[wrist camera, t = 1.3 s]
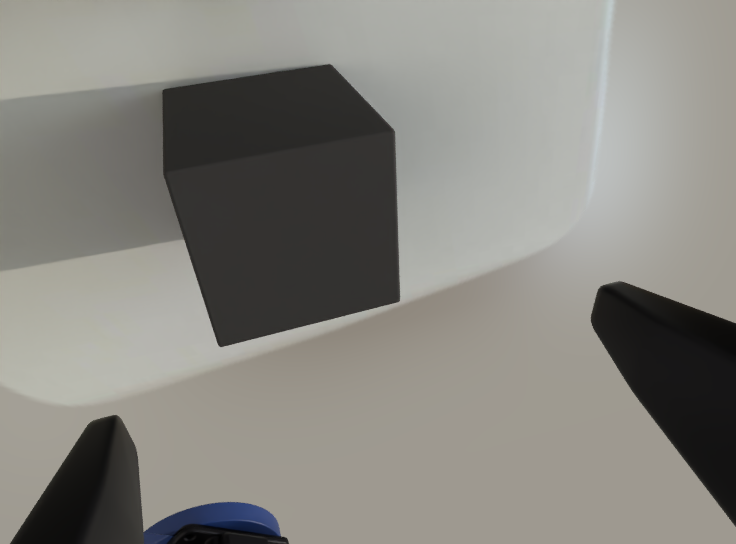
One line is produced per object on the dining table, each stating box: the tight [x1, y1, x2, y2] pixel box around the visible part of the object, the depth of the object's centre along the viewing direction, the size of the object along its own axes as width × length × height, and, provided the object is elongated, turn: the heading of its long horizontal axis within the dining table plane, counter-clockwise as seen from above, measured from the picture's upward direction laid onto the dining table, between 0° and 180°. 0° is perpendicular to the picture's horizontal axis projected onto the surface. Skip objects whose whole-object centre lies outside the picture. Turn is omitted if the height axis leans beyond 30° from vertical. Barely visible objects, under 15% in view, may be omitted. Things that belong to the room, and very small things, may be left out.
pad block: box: [162, 64, 400, 347], centre depth 14 cm, size 5×5×6 cm
